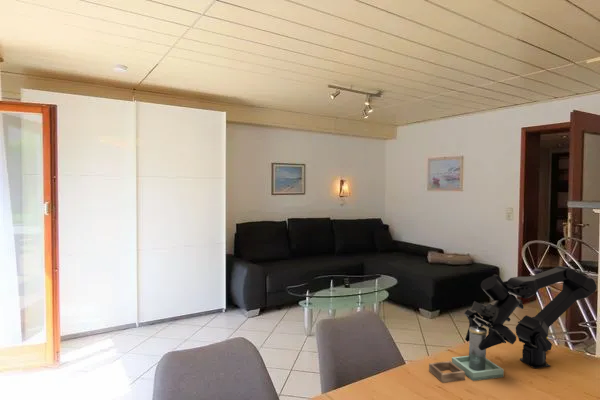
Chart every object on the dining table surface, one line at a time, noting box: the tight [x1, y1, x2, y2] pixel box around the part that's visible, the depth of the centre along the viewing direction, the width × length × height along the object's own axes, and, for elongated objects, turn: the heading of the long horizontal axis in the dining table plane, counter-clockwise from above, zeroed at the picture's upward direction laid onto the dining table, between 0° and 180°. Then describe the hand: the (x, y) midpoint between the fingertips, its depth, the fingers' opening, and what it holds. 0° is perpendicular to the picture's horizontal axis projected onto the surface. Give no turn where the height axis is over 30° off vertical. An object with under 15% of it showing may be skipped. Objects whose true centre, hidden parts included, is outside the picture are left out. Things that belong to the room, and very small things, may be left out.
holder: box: [428, 360, 466, 384], centre depth 118 cm, size 8×8×2 cm
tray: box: [451, 355, 505, 382], centre depth 120 cm, size 11×11×2 cm
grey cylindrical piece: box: [468, 326, 488, 371], centre depth 120 cm, size 5×5×13 cm
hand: (473, 344), depth 120 cm, fingers open, 7 cm apart
